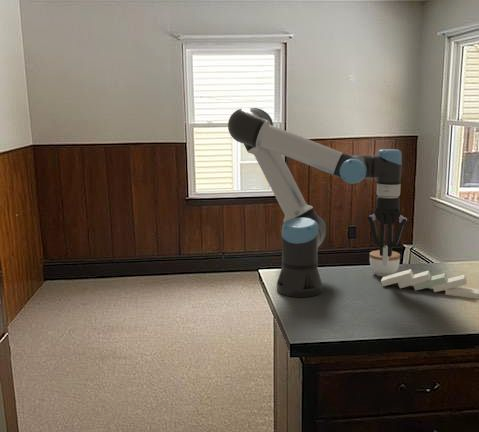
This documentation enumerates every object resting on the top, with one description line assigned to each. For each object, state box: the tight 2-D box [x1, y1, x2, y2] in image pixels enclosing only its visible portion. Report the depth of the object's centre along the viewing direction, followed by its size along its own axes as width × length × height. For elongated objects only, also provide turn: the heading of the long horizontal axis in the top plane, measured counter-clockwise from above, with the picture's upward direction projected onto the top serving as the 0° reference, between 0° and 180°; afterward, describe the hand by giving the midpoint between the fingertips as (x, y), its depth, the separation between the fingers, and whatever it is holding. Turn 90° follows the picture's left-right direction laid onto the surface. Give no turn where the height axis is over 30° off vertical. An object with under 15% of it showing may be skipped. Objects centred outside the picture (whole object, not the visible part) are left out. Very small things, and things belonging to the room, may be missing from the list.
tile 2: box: [397, 270, 432, 289], centre depth 174 cm, size 2×5×10 cm
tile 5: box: [444, 286, 479, 300], centre depth 168 cm, size 2×5×10 cm
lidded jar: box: [369, 249, 401, 278], centre depth 189 cm, size 11×11×9 cm
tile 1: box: [380, 268, 414, 287], centre depth 177 cm, size 2×5×10 cm
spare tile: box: [412, 272, 448, 291], centre depth 172 cm, size 2×5×10 cm
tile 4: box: [431, 274, 467, 293], centre depth 169 cm, size 2×5×10 cm
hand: (385, 265), depth 177 cm, fingers closed
